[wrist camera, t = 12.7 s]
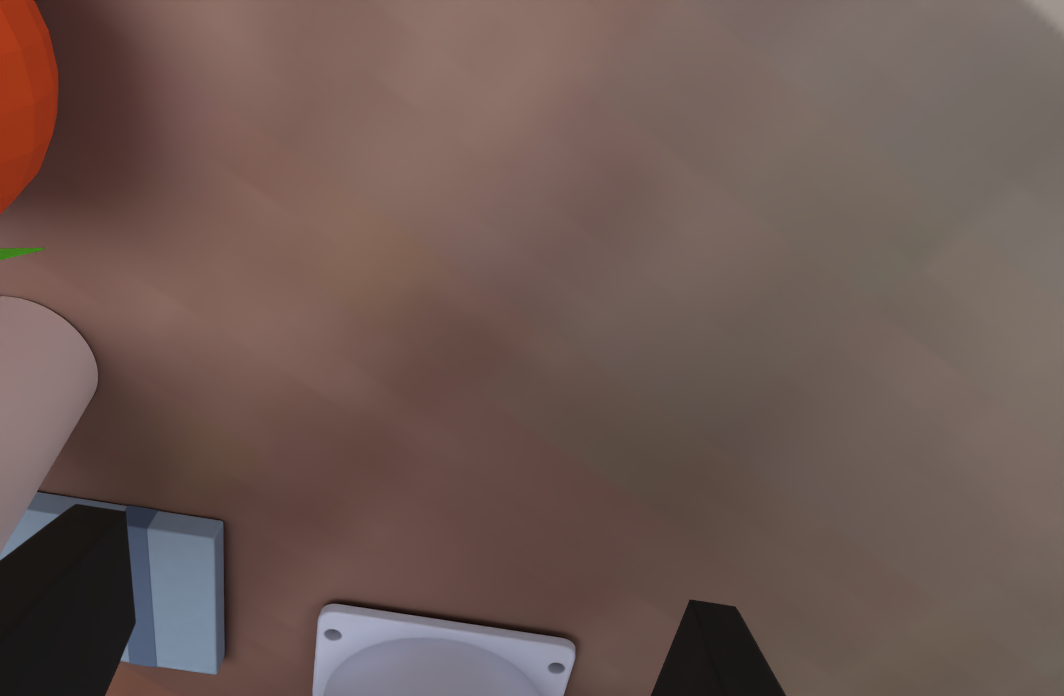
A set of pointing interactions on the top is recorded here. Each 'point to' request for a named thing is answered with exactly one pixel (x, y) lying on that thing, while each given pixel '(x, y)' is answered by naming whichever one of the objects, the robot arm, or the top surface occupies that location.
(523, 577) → the top surface
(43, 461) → the smoothie
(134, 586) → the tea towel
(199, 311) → the top surface
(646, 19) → the top surface
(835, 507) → the top surface
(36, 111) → the clementine
